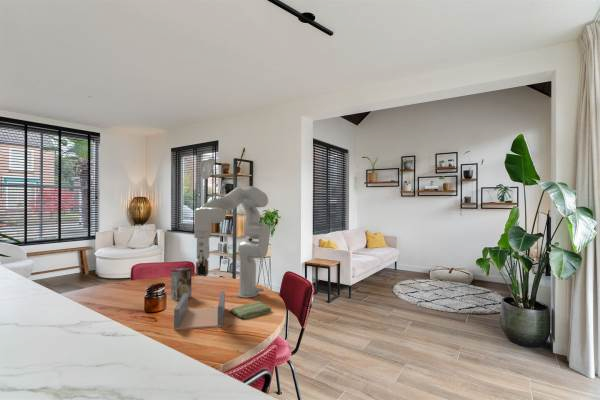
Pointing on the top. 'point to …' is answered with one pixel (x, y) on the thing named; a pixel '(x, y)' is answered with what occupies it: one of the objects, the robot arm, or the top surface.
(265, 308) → the washcloth
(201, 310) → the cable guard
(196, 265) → the walnut block
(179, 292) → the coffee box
